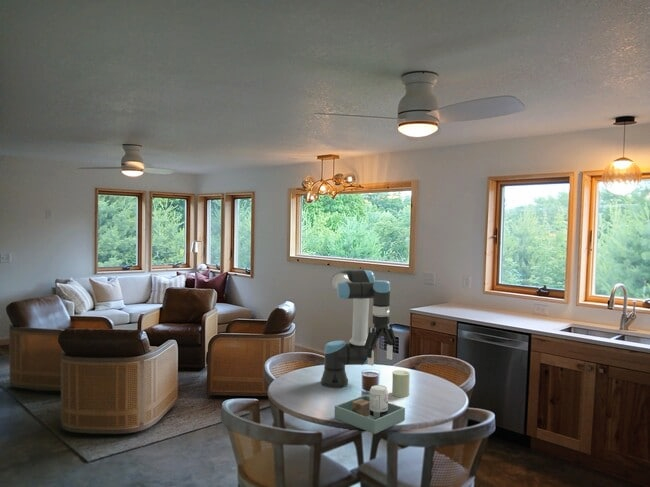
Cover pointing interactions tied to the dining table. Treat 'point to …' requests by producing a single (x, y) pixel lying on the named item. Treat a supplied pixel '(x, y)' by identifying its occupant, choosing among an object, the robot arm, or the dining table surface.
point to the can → (400, 383)
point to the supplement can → (378, 402)
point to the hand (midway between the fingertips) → (380, 362)
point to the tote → (366, 423)
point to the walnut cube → (361, 407)
